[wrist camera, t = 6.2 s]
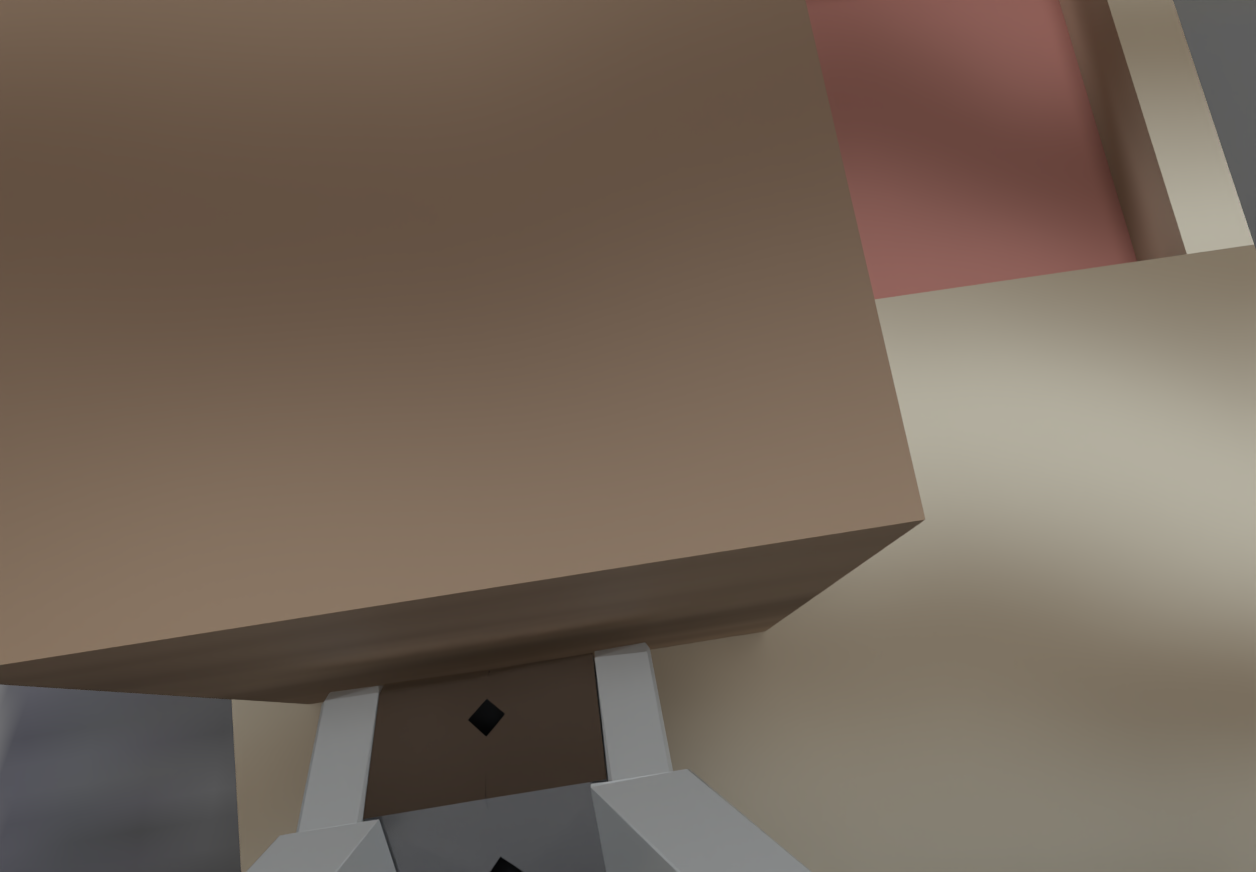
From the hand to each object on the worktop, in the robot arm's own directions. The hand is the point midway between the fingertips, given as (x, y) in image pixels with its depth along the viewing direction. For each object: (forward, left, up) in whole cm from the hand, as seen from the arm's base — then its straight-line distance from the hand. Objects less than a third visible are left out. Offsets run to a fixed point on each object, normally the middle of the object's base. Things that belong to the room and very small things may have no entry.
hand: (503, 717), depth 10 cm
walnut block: (+3, 0, -4) cm, 5 cm away
